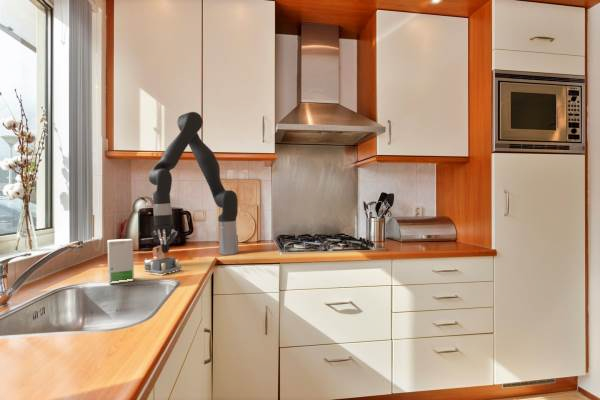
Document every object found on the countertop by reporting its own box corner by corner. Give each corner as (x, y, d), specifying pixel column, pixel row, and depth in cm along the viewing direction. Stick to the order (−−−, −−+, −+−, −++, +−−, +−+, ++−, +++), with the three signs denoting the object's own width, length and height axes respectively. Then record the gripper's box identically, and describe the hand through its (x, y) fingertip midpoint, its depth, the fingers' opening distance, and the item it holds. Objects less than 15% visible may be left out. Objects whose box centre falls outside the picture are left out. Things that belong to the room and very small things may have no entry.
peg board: (168, 268, 148) (168, 258, 147) (181, 270, 144) (181, 259, 144) (148, 274, 139) (148, 262, 139) (161, 275, 135) (161, 264, 135)
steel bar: (169, 266, 145) (169, 256, 145) (175, 267, 144) (175, 257, 144) (153, 270, 138) (153, 260, 138) (159, 271, 137) (159, 261, 137)
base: (153, 267, 151) (153, 263, 151) (162, 268, 148) (161, 264, 148) (142, 270, 146) (141, 265, 146) (150, 271, 143) (150, 266, 143)
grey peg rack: (155, 266, 144) (155, 250, 144) (141, 267, 144) (141, 250, 144) (169, 260, 158) (168, 245, 158) (156, 260, 158) (155, 245, 158)
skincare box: (109, 285, 123) (107, 241, 123) (107, 281, 129) (106, 240, 128) (135, 281, 128) (133, 239, 127) (132, 277, 133) (130, 237, 133)
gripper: (180, 212, 155) (183, 250, 156) (154, 213, 158) (157, 251, 159) (171, 214, 148) (174, 254, 148) (144, 215, 151) (147, 254, 151)
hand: (165, 252), depth 154 cm, fingers closed
